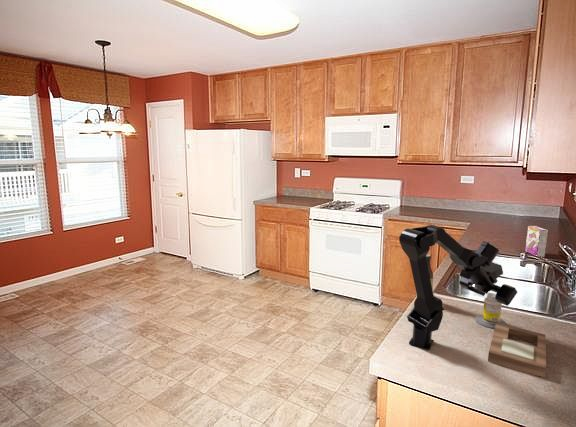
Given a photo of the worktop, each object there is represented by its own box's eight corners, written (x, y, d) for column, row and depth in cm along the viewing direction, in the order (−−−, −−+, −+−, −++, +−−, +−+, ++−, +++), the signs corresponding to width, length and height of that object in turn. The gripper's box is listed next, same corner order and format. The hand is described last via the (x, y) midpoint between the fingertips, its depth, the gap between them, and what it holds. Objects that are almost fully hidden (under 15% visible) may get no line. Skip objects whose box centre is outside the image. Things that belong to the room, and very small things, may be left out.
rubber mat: (505, 331, 125) (505, 330, 125) (473, 323, 130) (473, 322, 130) (507, 320, 133) (507, 319, 133) (477, 313, 138) (477, 312, 138)
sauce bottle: (434, 300, 150) (438, 254, 146) (428, 305, 145) (432, 258, 141) (419, 296, 154) (422, 251, 150) (412, 300, 150) (415, 254, 146)
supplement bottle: (487, 316, 135) (490, 290, 133) (502, 322, 131) (505, 295, 129) (479, 320, 132) (481, 293, 130) (494, 326, 128) (497, 299, 126)
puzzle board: (544, 378, 100) (546, 366, 99) (487, 361, 108) (488, 350, 107) (544, 343, 118) (545, 332, 117) (495, 330, 126) (496, 321, 125)
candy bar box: (524, 252, 219) (527, 225, 216) (532, 252, 219) (535, 225, 215) (536, 257, 208) (540, 230, 205) (545, 257, 208) (549, 230, 204)
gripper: (517, 265, 117) (534, 291, 124) (467, 250, 134) (484, 274, 140) (498, 292, 115) (516, 317, 122) (450, 273, 132) (468, 296, 138)
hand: (495, 299), depth 131 cm, fingers open, 9 cm apart
